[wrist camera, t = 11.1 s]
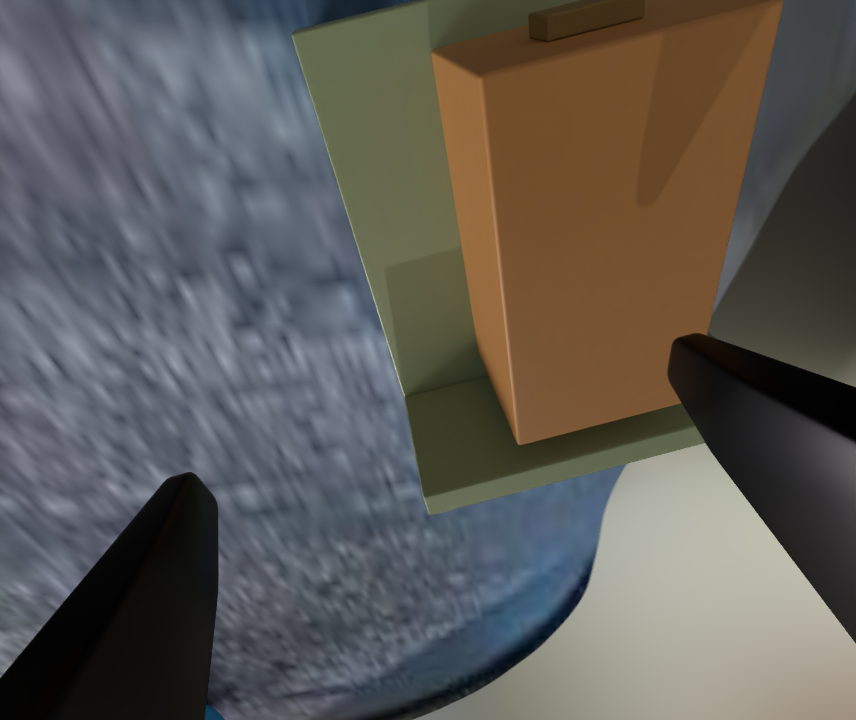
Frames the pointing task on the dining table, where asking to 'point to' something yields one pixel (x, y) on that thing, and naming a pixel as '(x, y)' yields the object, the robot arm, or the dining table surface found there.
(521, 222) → the case
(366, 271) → the green toy bench
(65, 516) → the dining table surface
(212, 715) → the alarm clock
